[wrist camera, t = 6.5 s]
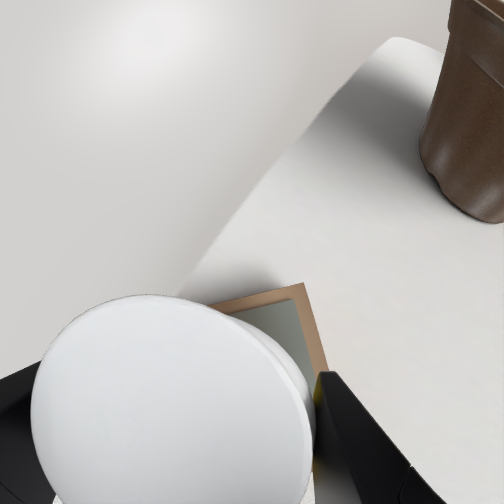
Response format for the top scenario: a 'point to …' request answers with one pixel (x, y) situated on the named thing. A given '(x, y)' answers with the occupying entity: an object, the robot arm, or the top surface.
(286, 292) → the plinth
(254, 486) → the supplement bottle
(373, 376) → the top surface
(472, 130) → the plant pot
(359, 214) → the top surface
